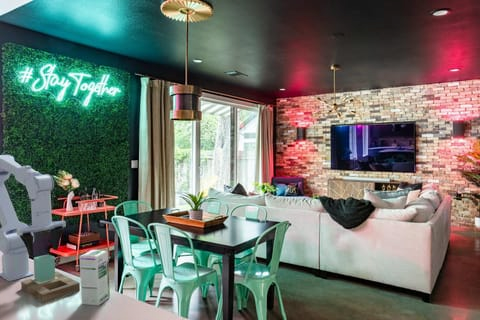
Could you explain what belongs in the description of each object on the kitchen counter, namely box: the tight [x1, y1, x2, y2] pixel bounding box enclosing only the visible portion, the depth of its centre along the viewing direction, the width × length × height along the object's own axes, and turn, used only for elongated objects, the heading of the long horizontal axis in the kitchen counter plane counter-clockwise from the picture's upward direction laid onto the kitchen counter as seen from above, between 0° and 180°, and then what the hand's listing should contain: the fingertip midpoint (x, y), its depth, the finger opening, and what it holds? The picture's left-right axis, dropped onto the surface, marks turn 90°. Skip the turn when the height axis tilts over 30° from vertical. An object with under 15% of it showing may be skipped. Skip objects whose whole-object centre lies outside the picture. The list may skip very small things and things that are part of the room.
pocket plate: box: [20, 270, 81, 304], centre depth 113 cm, size 16×11×3 cm
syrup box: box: [79, 249, 111, 306], centre depth 105 cm, size 6×6×14 cm
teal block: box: [33, 253, 56, 282], centre depth 115 cm, size 4×4×7 cm
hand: (43, 252), depth 118 cm, fingers open, 7 cm apart
